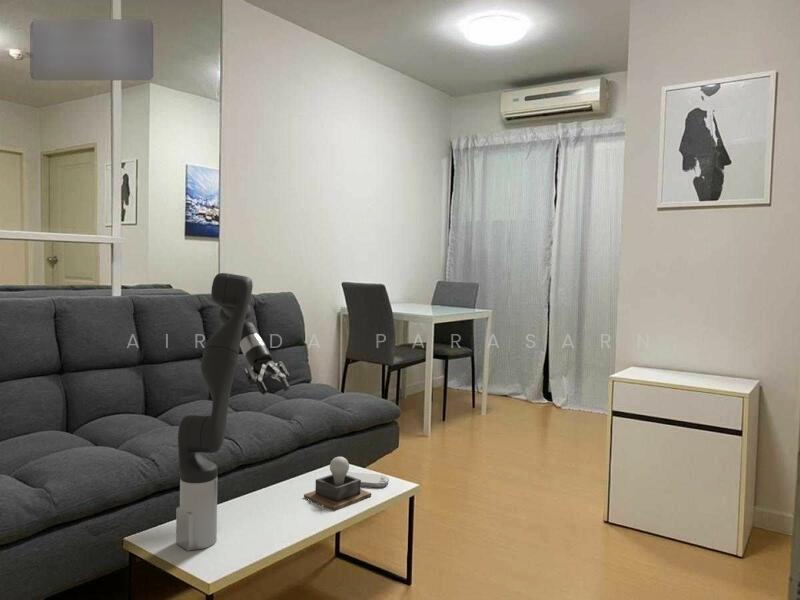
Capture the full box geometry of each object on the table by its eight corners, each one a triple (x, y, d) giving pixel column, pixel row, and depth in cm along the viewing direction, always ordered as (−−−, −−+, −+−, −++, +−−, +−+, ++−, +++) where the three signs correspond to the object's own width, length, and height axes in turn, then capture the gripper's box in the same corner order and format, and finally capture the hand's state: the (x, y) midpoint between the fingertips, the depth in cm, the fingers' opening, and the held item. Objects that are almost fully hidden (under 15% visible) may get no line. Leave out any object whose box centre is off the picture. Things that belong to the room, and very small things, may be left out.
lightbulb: (325, 491, 192) (326, 457, 191) (336, 486, 197) (337, 452, 197) (340, 496, 189) (341, 461, 188) (352, 490, 194) (353, 456, 194)
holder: (334, 510, 182) (334, 492, 182) (303, 497, 191) (304, 480, 191) (371, 496, 194) (371, 479, 194) (340, 484, 203) (341, 468, 203)
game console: (390, 474, 209) (386, 482, 201) (390, 481, 209) (385, 490, 201) (339, 469, 211) (333, 478, 203) (339, 476, 212) (332, 485, 203)
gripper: (241, 345, 192) (263, 387, 185) (278, 342, 203) (299, 381, 196) (231, 360, 196) (252, 401, 189) (268, 356, 206) (288, 395, 200)
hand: (276, 391), depth 192 cm, fingers open, 8 cm apart
